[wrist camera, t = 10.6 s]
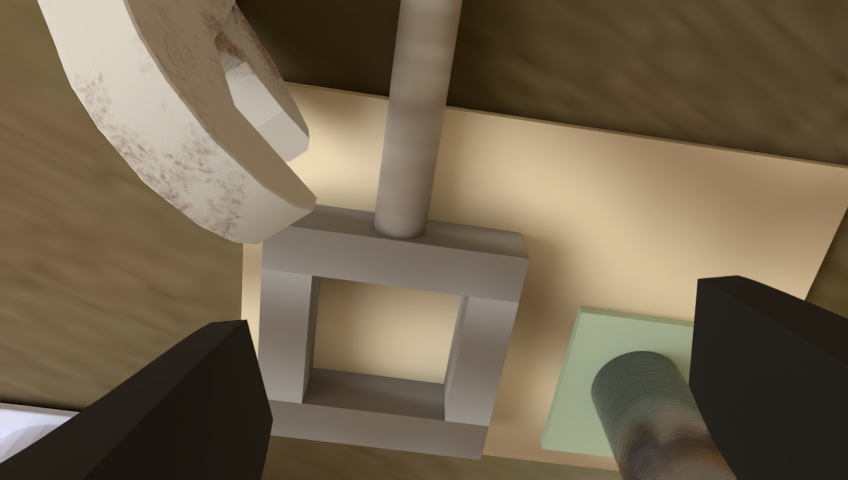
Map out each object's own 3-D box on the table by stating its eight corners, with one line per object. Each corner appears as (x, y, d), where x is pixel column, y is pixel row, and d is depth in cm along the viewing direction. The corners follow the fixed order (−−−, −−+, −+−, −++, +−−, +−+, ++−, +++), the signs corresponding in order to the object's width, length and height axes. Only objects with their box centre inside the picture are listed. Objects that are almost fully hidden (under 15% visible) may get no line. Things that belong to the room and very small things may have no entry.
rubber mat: (691, 459, 23) (695, 467, 23) (540, 441, 23) (542, 448, 22) (747, 328, 21) (753, 335, 20) (579, 306, 20) (582, 312, 20)
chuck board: (714, 473, 24) (744, 525, 22) (242, 416, 23) (221, 465, 21) (919, 20, 17) (996, 26, 15) (257, -88, 16) (228, -100, 14)
